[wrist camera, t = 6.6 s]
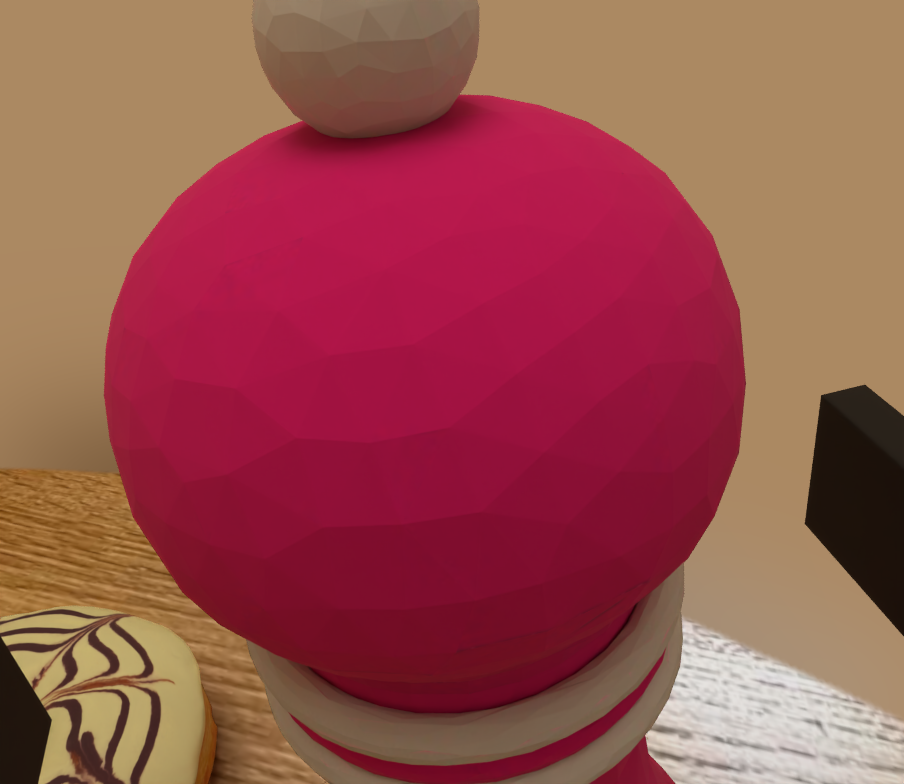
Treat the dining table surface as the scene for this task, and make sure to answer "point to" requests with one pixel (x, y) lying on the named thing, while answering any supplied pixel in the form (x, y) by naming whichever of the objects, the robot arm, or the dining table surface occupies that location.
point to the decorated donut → (114, 697)
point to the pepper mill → (431, 410)
